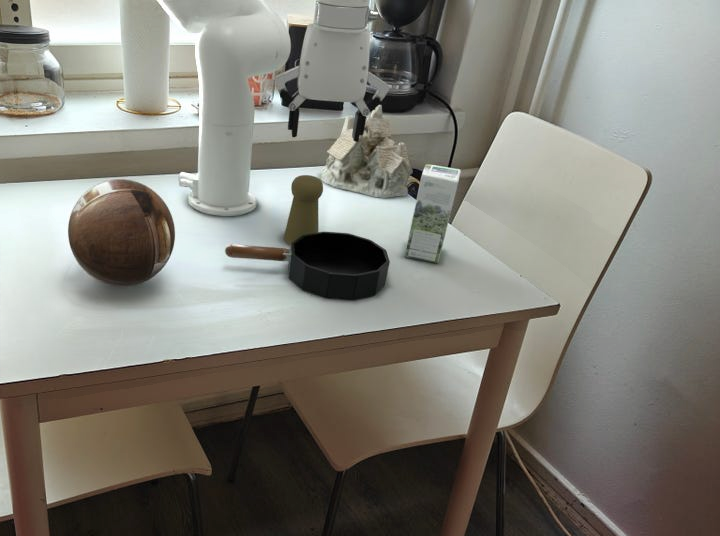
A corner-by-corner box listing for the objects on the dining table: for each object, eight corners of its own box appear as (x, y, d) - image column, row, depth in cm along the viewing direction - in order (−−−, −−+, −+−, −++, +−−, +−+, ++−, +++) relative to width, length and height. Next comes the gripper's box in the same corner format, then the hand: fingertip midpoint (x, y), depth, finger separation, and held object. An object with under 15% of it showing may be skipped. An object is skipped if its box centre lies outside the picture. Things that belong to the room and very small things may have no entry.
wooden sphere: (54, 271, 106) (45, 174, 98) (141, 250, 114) (139, 158, 106) (102, 315, 97) (97, 212, 89) (193, 288, 105) (197, 191, 96)
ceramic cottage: (313, 170, 150) (327, 98, 141) (384, 171, 154) (402, 102, 145) (338, 203, 139) (354, 127, 129) (414, 203, 143) (435, 130, 134)
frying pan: (221, 290, 105) (222, 265, 103) (226, 247, 117) (227, 224, 115) (390, 303, 105) (395, 278, 103) (377, 258, 117) (381, 235, 115)
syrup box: (441, 250, 122) (462, 167, 113) (438, 264, 117) (459, 179, 109) (408, 244, 123) (426, 161, 115) (403, 258, 118) (421, 173, 110)
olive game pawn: (316, 249, 119) (325, 186, 112) (280, 244, 119) (287, 181, 113) (320, 235, 124) (328, 173, 117) (286, 230, 124) (292, 169, 118)
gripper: (396, 17, 105) (376, 134, 115) (279, 8, 105) (269, 126, 114) (404, 26, 99) (382, 148, 109) (280, 17, 99) (269, 140, 108)
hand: (324, 137), depth 112 cm, fingers open, 9 cm apart
